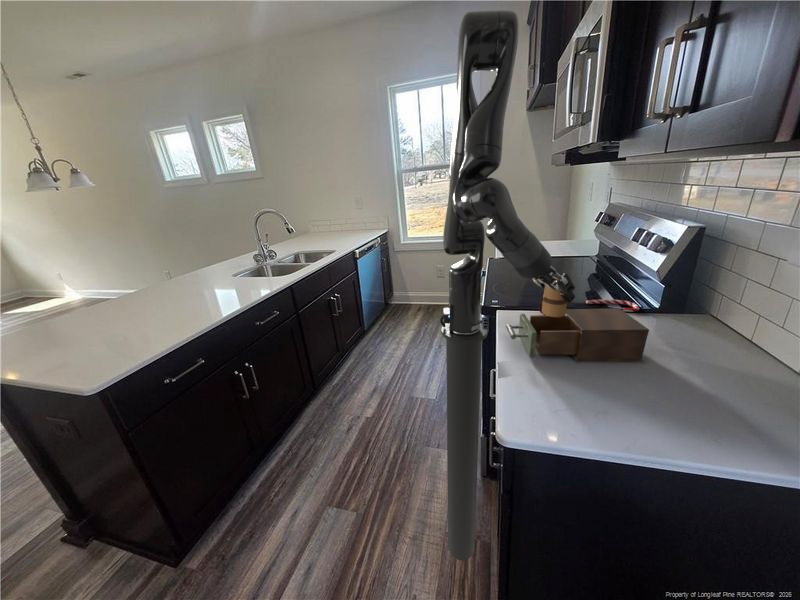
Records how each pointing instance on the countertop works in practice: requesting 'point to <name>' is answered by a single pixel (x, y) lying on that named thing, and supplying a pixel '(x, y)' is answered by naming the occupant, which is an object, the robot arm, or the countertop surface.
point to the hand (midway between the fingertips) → (561, 295)
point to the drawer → (546, 334)
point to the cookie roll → (553, 303)
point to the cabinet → (608, 335)
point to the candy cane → (616, 303)
